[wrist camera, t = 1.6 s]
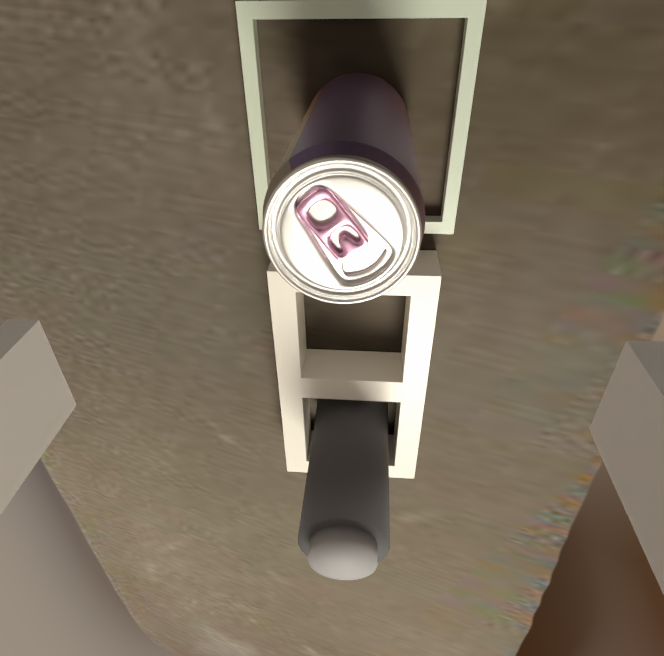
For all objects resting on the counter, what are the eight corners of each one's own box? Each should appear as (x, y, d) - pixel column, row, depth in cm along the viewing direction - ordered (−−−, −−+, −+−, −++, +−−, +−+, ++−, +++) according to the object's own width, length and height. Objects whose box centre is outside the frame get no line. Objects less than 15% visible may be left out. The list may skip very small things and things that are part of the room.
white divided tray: (276, 246, 34) (266, 271, 32) (436, 250, 34) (441, 276, 31) (293, 440, 46) (287, 471, 43) (411, 446, 45) (413, 478, 43)
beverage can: (368, 45, 27) (358, 110, 15) (427, 136, 29) (460, 254, 17) (286, 116, 29) (220, 221, 17) (348, 194, 32) (327, 334, 20)
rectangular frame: (239, 0, 26) (235, 1, 25) (483, -3, 25) (487, -2, 24) (262, 223, 33) (259, 229, 33) (451, 227, 33) (453, 234, 32)
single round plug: (317, 375, 41) (292, 532, 30) (389, 378, 41) (393, 539, 29) (319, 425, 45) (297, 582, 33) (385, 428, 44) (387, 589, 33)
